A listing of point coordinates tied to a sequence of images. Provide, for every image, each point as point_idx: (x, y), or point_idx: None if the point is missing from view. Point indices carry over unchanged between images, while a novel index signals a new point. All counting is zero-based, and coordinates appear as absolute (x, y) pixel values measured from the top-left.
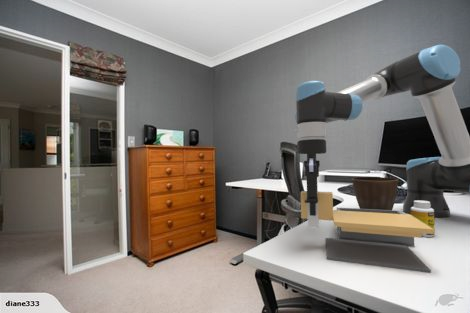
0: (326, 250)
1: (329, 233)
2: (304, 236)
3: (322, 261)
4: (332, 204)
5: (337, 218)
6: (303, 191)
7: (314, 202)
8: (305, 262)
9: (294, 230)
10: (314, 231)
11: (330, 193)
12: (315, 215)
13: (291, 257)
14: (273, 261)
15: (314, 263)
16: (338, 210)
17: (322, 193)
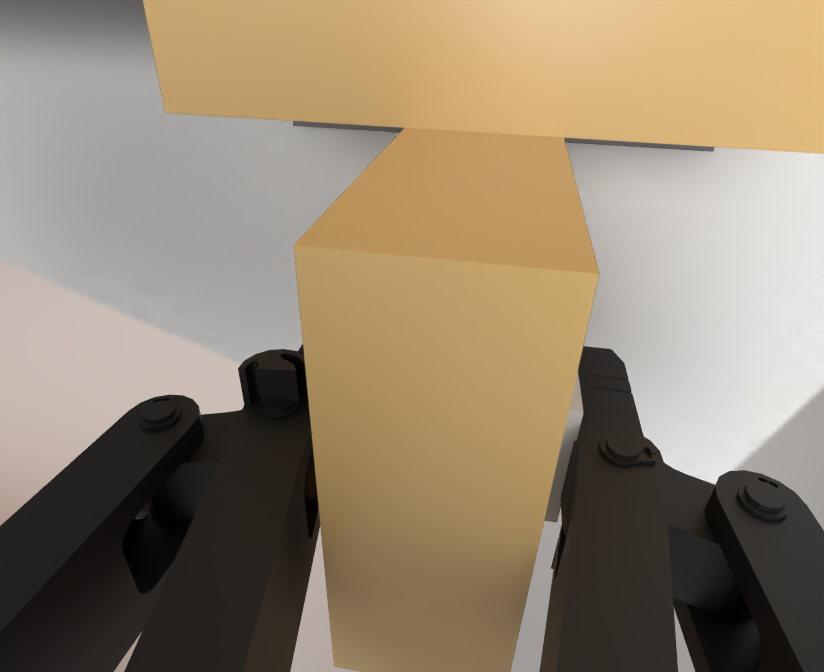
0: (579, 142)
1: (135, 76)
2: (290, 273)
3: (742, 181)
4: (576, 193)
5: (662, 87)
6: (373, 656)
7: (678, 481)
8: (759, 286)
9: (195, 332)
10: (147, 197)
11: (578, 318)
12: (611, 353)
13: (683, 358)
14: (744, 440)
15: (775, 234)
16: (147, 11)
17: (556, 460)
